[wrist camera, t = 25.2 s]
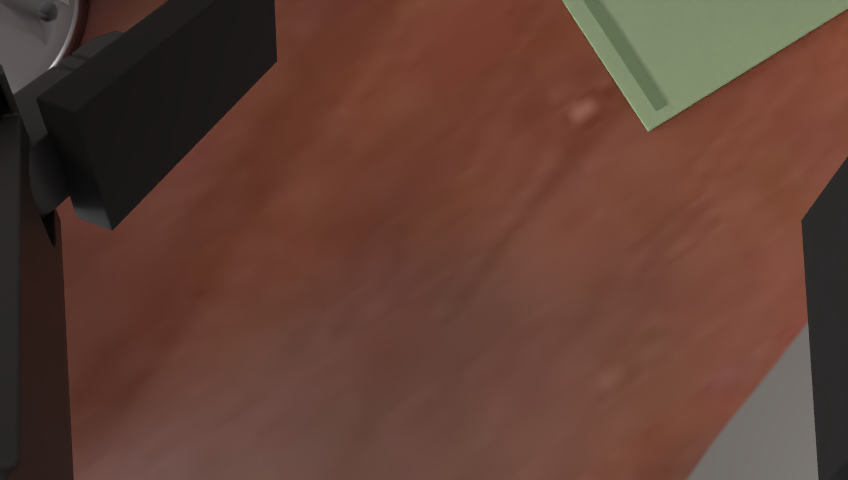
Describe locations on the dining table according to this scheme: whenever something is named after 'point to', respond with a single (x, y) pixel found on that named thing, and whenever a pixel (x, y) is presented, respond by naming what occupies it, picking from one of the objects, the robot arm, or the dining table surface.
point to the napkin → (690, 44)
